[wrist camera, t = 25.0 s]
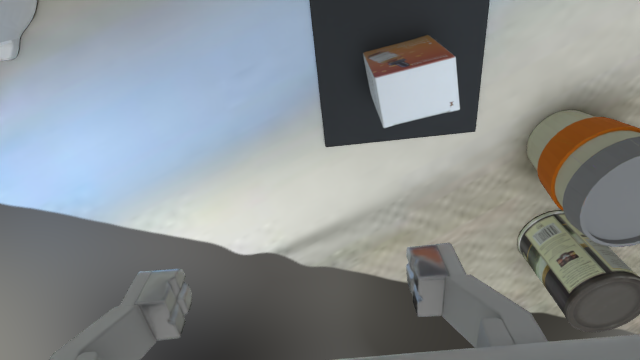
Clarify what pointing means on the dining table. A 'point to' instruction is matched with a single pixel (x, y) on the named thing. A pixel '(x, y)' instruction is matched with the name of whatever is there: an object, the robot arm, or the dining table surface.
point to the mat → (384, 30)
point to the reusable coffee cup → (591, 173)
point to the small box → (412, 80)
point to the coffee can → (580, 274)
